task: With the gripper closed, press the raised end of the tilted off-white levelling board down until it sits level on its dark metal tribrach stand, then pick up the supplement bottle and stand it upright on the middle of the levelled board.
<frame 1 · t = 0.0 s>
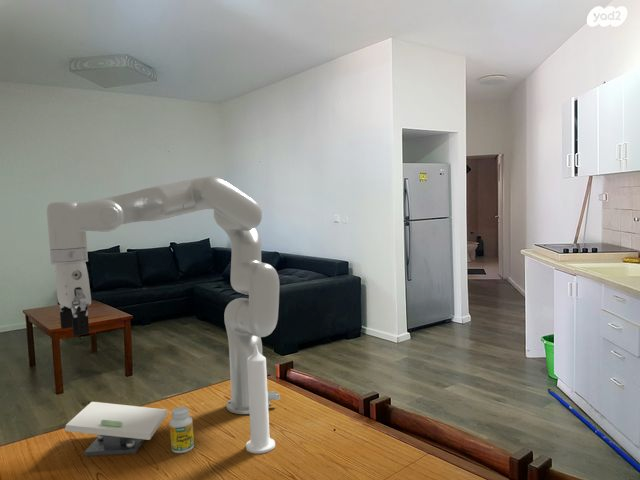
hand: (74, 330, 112), 31 cm above the table, tool pointing down, fingers open, 9 cm apart
candle: (260, 447, 119), on the table
tribrach base: (120, 441, 124), on the table
level board: (119, 417, 124), point 6 cm above the table, hinge at 9.0°
supplement bottle: (182, 449, 120), on the table
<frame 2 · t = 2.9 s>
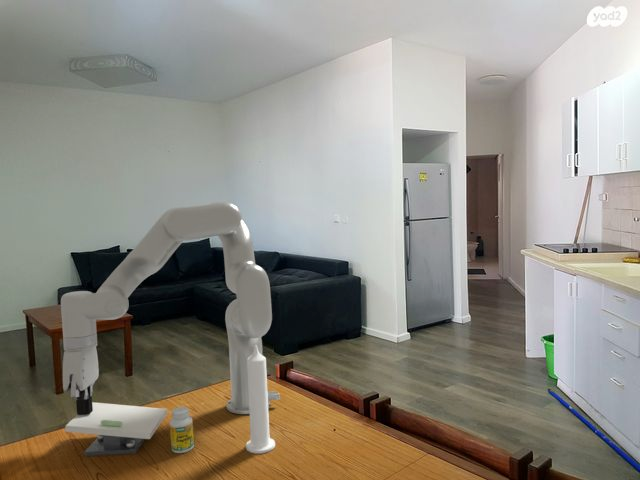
hand: (85, 413, 124), 8 cm above the table, tool pointing down, fingers closed
level board: (119, 417, 124), point 6 cm above the table, hinge at 8.0°, touching gripper
everything else where it was.
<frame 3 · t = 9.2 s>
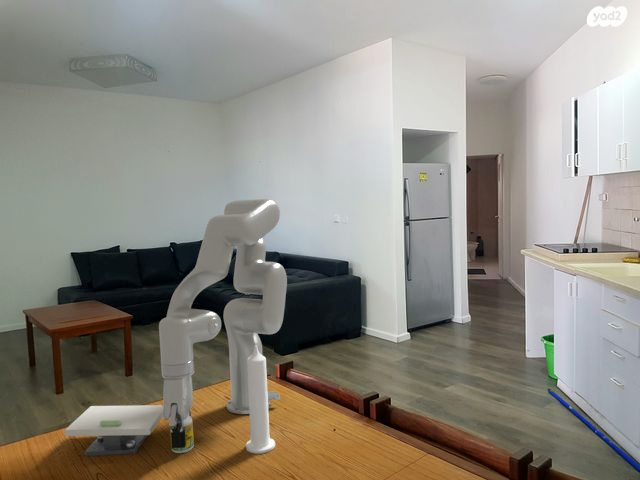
hand: (182, 440, 120), 2 cm above the table, tool pointing down, fingers closed on supplement bottle, 5 cm apart
level board: (118, 417, 124), point 6 cm above the table, hinge at 2.0°
supplement bottle: (182, 449, 120), on the table, touching gripper
everything else where it was.
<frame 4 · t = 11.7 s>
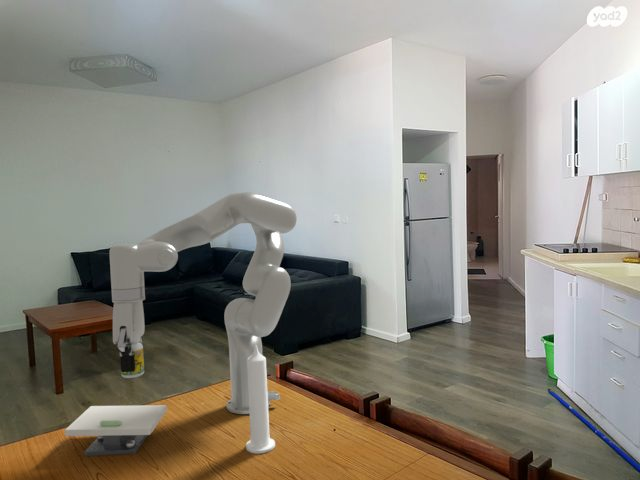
hand: (132, 366, 121), 20 cm above the table, tool pointing down, fingers closed on supplement bottle, 5 cm apart
supplement bottle: (132, 375, 121), point 17 cm above the table, touching gripper
everything else where it was.
when the fingers open (10 cm above the table, at t = 14.3 s): supplement bottle drops 1 cm, resting on level board.
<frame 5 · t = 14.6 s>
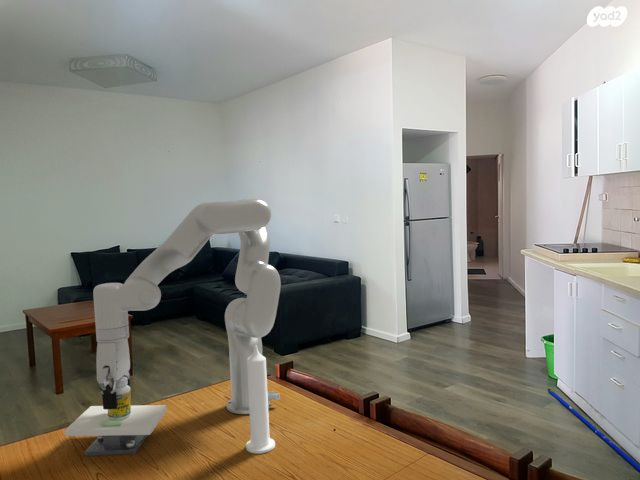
hand: (117, 401, 124), 11 cm above the table, tool pointing down, fingers open, 8 cm apart
level board: (118, 417, 124), point 6 cm above the table, hinge at 2.0°, touching supplement bottle
supplement bottle: (119, 417, 124), point 6 cm above the table, touching level board
everything else where it was.
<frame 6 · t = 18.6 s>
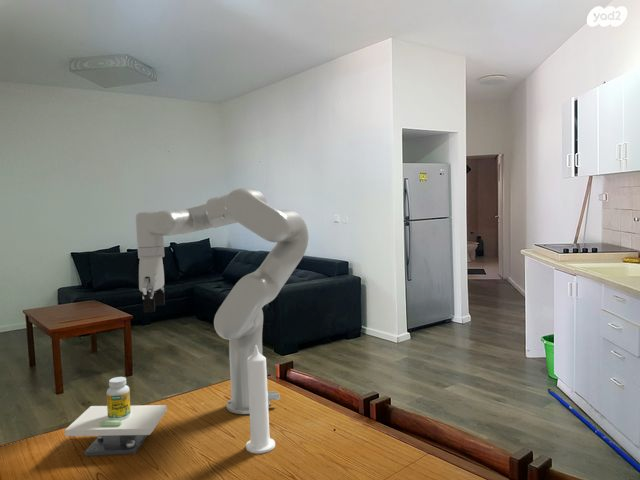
hand: (154, 308, 149), 28 cm above the table, tool pointing down, fingers open, 9 cm apart
nothing on the table moved.
at the end: level board at +2° (first picture: +9°); supplement bottle inside the target area on the level board (0.1 cm from its centre), point 1.3 cm above the level board's base; supplement bottle tilted 2° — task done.
